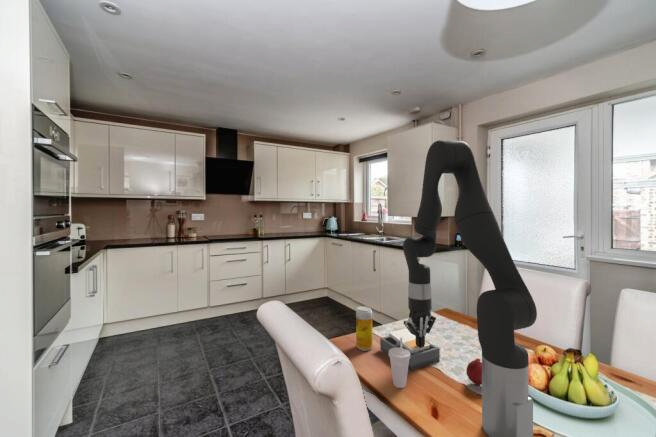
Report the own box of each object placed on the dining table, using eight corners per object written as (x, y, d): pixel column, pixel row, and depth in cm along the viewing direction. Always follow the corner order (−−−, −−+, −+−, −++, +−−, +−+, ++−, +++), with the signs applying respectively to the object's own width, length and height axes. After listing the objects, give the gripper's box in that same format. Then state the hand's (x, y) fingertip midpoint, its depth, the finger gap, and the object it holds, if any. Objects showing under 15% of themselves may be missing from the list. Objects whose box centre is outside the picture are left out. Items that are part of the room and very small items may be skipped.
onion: (476, 392, 82) (476, 364, 82) (462, 381, 88) (462, 355, 87) (493, 389, 84) (493, 361, 83) (478, 378, 89) (477, 352, 89)
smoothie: (411, 392, 83) (411, 343, 82) (388, 389, 84) (388, 341, 84) (409, 379, 89) (409, 334, 89) (388, 377, 90) (388, 332, 90)
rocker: (431, 349, 101) (432, 343, 100) (409, 356, 96) (409, 350, 96) (407, 332, 111) (408, 327, 111) (386, 338, 107) (387, 332, 107)
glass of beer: (353, 346, 112) (353, 307, 111) (366, 342, 114) (366, 305, 114) (361, 352, 106) (361, 312, 106) (375, 349, 109) (375, 309, 108)
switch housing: (439, 361, 100) (439, 348, 99) (410, 370, 94) (410, 357, 94) (407, 342, 114) (407, 331, 114) (380, 350, 108) (380, 338, 108)
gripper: (412, 301, 92) (413, 355, 92) (442, 295, 98) (443, 346, 98) (396, 295, 99) (397, 346, 99) (425, 290, 105) (426, 338, 105)
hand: (420, 346), depth 98 cm, fingers closed
